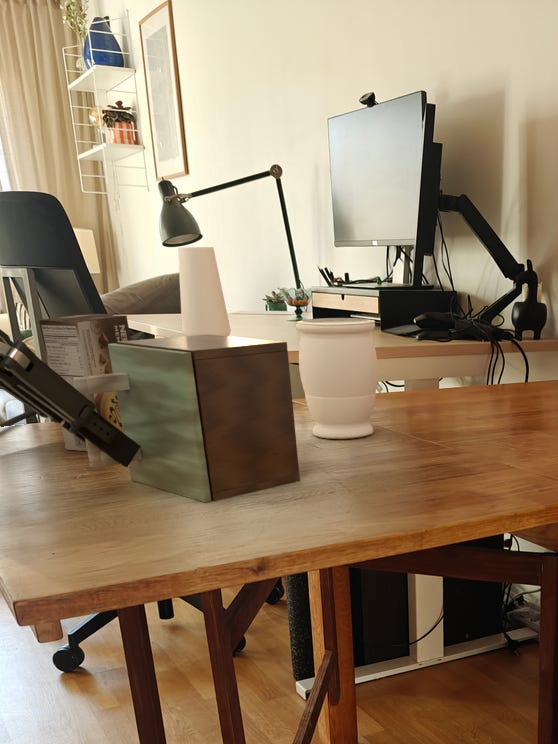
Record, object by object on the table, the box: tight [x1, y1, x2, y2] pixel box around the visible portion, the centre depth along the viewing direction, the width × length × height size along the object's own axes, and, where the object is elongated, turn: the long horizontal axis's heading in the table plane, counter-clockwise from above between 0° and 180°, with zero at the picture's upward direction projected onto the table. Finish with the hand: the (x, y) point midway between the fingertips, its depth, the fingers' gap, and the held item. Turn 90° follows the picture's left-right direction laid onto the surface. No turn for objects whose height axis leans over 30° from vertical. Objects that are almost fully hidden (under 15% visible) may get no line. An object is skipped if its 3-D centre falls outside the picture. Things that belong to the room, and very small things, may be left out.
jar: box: [295, 317, 379, 440], centre depth 118 cm, size 11×10×15 cm
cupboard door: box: [74, 343, 212, 503], centre depth 87 cm, size 6×15×14 cm, turn 49°
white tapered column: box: [177, 246, 232, 336], centre depth 125 cm, size 7×7×24 cm
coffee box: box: [38, 313, 132, 452], centre depth 112 cm, size 9×6×16 cm
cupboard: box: [117, 334, 301, 502], centre depth 93 cm, size 11×15×15 cm
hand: (126, 454), depth 93 cm, fingers closed on cupboard door, 2 cm apart
